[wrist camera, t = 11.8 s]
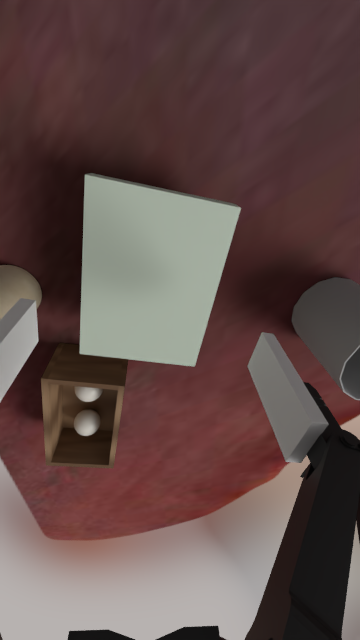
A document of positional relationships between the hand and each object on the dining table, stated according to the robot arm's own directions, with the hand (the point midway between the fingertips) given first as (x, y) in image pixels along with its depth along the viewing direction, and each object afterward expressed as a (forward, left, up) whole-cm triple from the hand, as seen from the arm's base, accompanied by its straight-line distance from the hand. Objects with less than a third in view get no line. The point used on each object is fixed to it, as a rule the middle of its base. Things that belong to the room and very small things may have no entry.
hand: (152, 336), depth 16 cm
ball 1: (+15, -5, -11) cm, 20 cm away
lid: (0, 0, -9) cm, 9 cm away
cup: (+2, +21, -14) cm, 25 cm away
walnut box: (+18, -5, -13) cm, 23 cm away
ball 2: (+21, -5, -11) cm, 25 cm away
